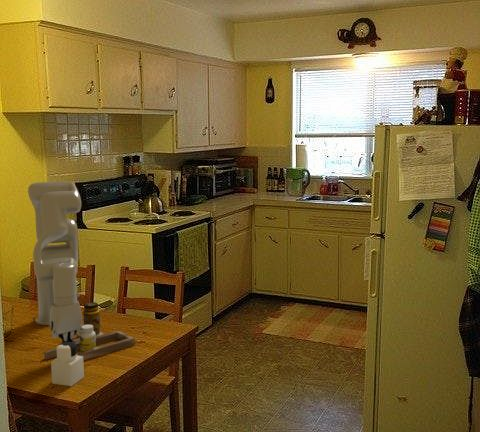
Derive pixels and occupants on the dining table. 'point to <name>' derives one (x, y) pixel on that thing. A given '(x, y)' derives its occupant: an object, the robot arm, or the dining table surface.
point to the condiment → (92, 317)
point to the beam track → (98, 351)
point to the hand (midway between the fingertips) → (67, 349)
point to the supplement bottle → (87, 338)
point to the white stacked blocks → (67, 365)
